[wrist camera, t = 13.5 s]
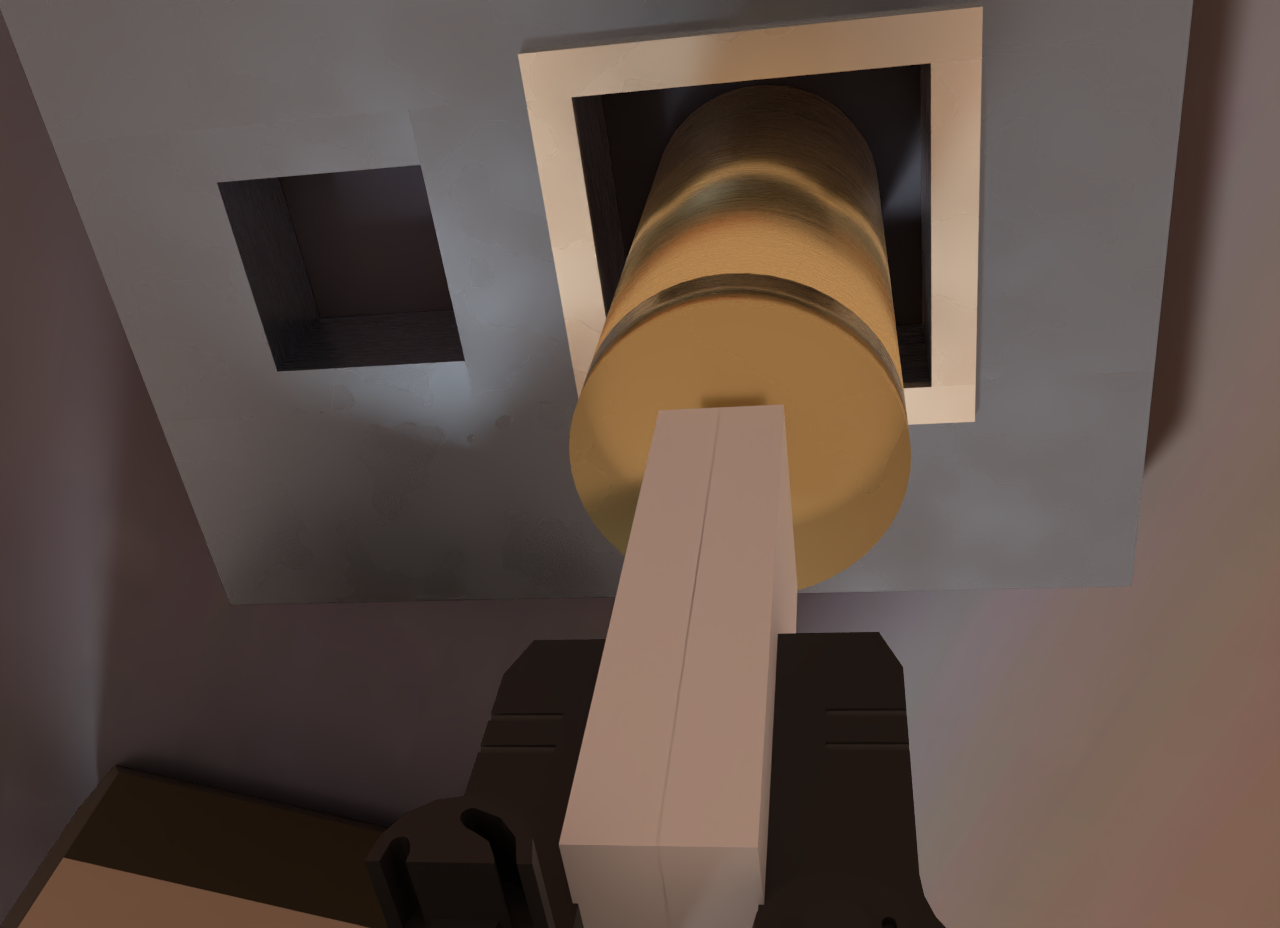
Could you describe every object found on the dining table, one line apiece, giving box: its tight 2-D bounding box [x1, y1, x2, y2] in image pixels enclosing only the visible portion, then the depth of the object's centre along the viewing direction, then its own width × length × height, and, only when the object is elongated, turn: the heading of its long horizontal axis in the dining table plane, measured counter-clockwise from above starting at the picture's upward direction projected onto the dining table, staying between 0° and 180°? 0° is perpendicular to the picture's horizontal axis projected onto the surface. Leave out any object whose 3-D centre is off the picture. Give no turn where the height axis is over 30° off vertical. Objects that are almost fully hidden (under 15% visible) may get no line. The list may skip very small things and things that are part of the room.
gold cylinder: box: [569, 85, 911, 590], centre depth 20 cm, size 4×4×10 cm
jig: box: [0, 0, 1193, 605], centre depth 22 cm, size 20×16×6 cm
